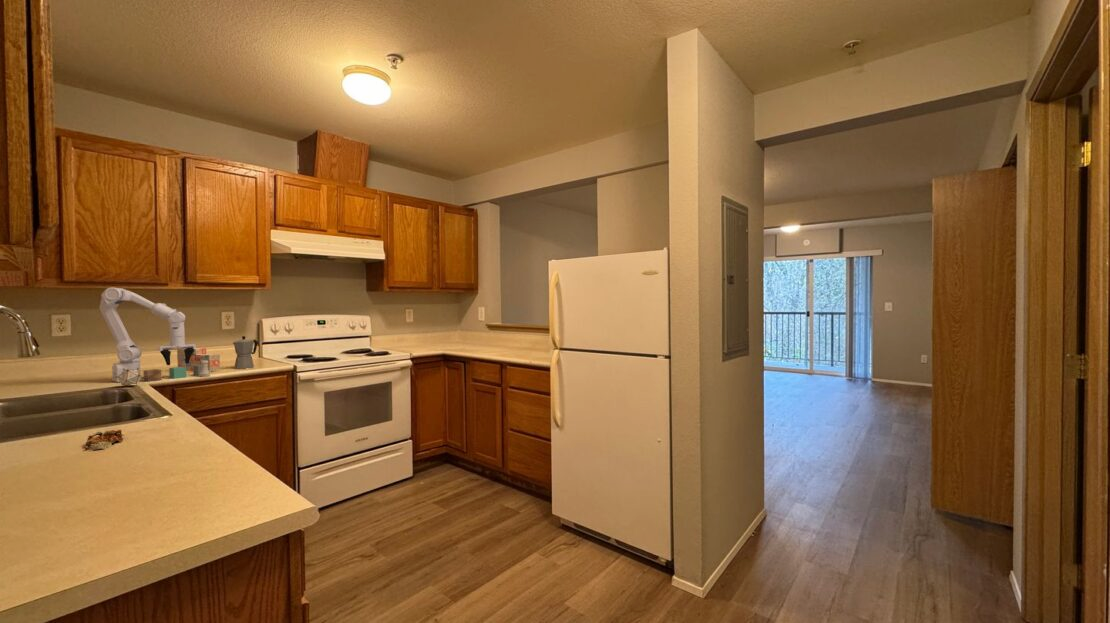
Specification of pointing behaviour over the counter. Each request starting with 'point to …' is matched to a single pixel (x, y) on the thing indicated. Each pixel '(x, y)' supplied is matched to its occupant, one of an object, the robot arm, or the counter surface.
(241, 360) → the coffeepot
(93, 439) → the pastry
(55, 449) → the counter surface
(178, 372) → the muted green block
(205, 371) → the rook chess piece
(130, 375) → the geometric wire lantern
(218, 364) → the stack of blocks
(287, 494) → the counter surface
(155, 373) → the walnut block
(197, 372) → the gray block
